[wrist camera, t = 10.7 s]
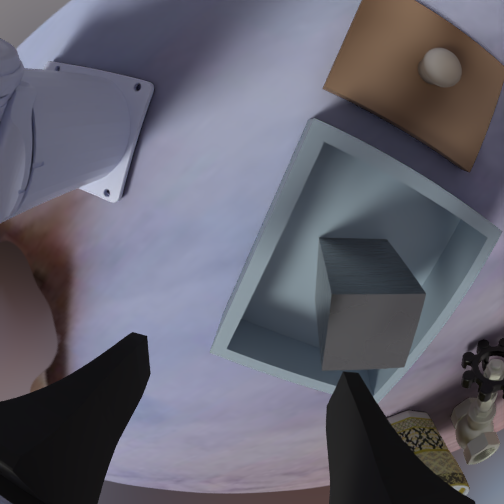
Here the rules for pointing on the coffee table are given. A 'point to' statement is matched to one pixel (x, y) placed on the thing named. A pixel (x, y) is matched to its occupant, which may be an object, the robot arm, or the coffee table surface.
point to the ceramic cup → (429, 447)
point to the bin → (346, 226)
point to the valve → (479, 403)
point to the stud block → (419, 76)
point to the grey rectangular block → (365, 304)
